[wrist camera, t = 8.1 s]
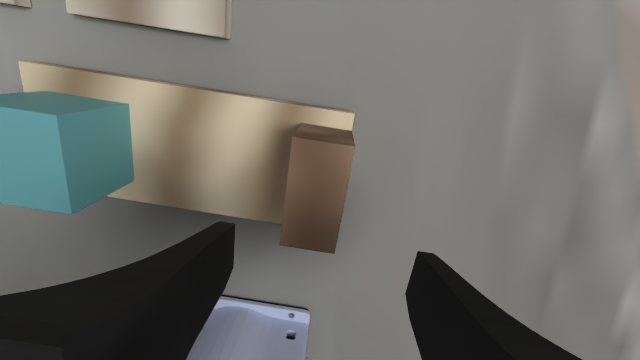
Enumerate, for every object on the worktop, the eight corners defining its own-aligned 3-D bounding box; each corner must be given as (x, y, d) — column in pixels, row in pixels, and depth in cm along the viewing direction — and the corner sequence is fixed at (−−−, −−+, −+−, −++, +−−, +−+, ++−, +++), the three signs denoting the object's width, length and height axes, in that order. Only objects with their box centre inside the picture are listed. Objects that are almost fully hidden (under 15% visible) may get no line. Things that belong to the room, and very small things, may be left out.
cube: (129, 103, 18) (56, 115, 14) (134, 180, 20) (71, 214, 15) (47, 90, 18) (-54, 97, 14) (60, 168, 20) (-26, 198, 15)
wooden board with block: (353, 111, 19) (359, 125, 14) (333, 225, 21) (331, 268, 17) (34, 61, 19) (-69, 57, 14) (54, 180, 21) (-26, 211, 17)
